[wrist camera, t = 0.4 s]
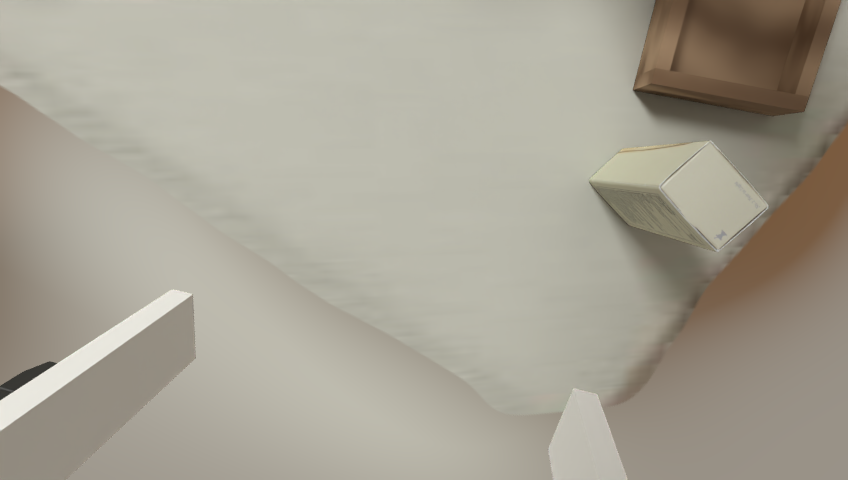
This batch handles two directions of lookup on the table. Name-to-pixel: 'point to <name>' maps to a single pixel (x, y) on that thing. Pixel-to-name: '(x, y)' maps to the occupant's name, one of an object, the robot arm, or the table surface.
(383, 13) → the table surface
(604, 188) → the skincare box
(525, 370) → the table surface
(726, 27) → the tray
